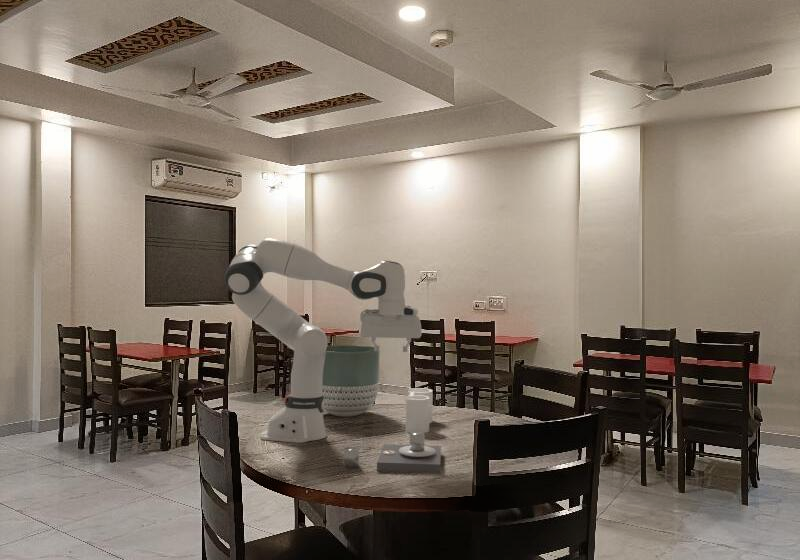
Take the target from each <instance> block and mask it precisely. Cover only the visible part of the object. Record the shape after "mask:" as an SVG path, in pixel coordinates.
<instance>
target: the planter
mask: <svg viewBox="0 0 800 560" xmlns="http://www.w3.org/2000/svg"><path fill="white" fill-rule="evenodd" d="M374 349H375V346H370V345H354V344H353V345H352V344H351V345H350V344H349V345H348V344H347V345H346V344H342V345H341V344H339V345H337V344H335V345H334V344H333V345H327V348H326V356H325V363H324V369H323V396H324V411H325V412H327V413H328V414H330V415H332V416H336V417H345V418H347V417H355V416H359V415H361V414H363V413H365V412H367V411H369V409H370V408H371V407H372V406H373V405H374V403H375V401H376V399H377V397H378V394H379V393H378V392H379V384H380V383H379V382H380V381H379V378H380V350H379V351H375V350H374Z"/></svg>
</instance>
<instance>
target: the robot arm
mask: <svg viewBox="0 0 800 560" xmlns="http://www.w3.org/2000/svg"><path fill="white" fill-rule="evenodd" d="M267 273H275V274H277V275H280V276H284V277H286V278H289V279H294V280H299V281H319V282H326V283H329V284H331V285H334V286H337V287H340V288H343V289H346V290H347V291H348V292H350V293H351V295H353V296H354V297H355V298H356V299H359V300H362V301H363V300H366V301H367V300H371V299H373V298H377V300H378V301H377V302H378V303H377V304H378V306H377V309H368V308H367V309H364V310H363V311H361V312H360V323H361V327H360V336H361V337H362V338H370V340H371V343H372V344H373V347H375V349H374V350H375V351H379V352H380V345H377V342H376V340H377V338H379V339H380V338H384V339H387V338H390V339H391V338H392V339H394V338H395V339H406V345H403V346H402V352H403V353H406V352H408V349H409V345H410V344H411V342H412V339H420V338H421V337H422V333H423V332H422V323H421V319H420V317H419V316H418V314H419V310H418V309H417V308H415V307H412V306H410V305H406V298H405V291H406V290H405V289H406V275H405V268H404V267H403V265H402V264H401V263H399V262H396V261H391V260H381V261H380V262H379V263H378V264H376V265H374V266H372V267H370V268H367V269H364V270H358V271H357V270H356V271H354V270H350V269H349V270H348V269H346V268H343V267H341V266H340V267H339V266H336V265H333V264H331V263H329V262H327V261H325V260H324V259H322V258H321V257H320V256H319V255H318V254H316V253H315V252H313V251H312V250H310V249H308V248H306V247H304V246H301V245H299V244H297V243H296V244H295V243H293V242H290V241H287V240H282V239H275V238H269V237H268V238H265V239H263V240H262V241H261V242H259V244H248V245H244V246H242V248H240V249H239V251H238V252H237V253H236V255H235V256H234V257H233V258H232V260H231V261H230V264H229V265H228V268H227V269H226V272H225V273H224V274H225V275H224V283H225V285H226V288H227V289H228V290H229V291H230V292H231V293H232V294H231V295H232V296H231V299H232V302H233V304H234V305H235V306H236V307H237V308H238V309H239V310H240V311H241V312H242V313H243V314H244V315H246V316H247V317H248V318H249V319H250V320H251V321H253V322H255V324H257V325H259V326H260V327H261V328H263V329H264V330H266V331H267V332H268V333H269V334H271V335H272V336H273V337H275V338H276V339H278V340H279V341H280V342H282V343H283V344H284V345H285V346H287V347H288V348H290V349H291V350H292V351H293V360H292V366H291V372H290V393H289V394H287V395H286V397H285V398H284V402H283V403H284V407H283V408H281V409H280V410H278V411H277V412H276V413H274V415H273V416H271V417H270V419H269V421H268V425H267V429H266V430H264V431H262V433H260V440H263V441H266V440H267V441H277V442H284V443H285V442H287V443H297V444H303V443H306V442H311V441H318V440H322V439H324V438H326V437H327V431H326V427H325V420H324V411H325V410H324V396H323V369H324V363H325V356H326V348H327V346H328V337H327V335H326V333H325V331H324V330H323V329H322V328H320V327H319V326H316V325H313V324H312V323H310V322H308V321H307V320H306V319H304V318H303V316H301V315H300V314H299V313H298V312H297V311H295V310H294V309H293V308H292V307H291V306H289V305H288V304H286V303H285V302H284V301H282V300H281V299H280V298H278V296H276V295H274V294H273V293H272V292H270V291H269V290H267V289H266V287H264V286H263V285H262V280H263V279H264V275H265V274H267Z"/></svg>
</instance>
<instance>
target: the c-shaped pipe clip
mask: <svg viewBox="0 0 800 560" xmlns="http://www.w3.org/2000/svg"><path fill="white" fill-rule="evenodd" d="M433 391H434V390H433V389H431V388H423V387H422V388H421V387H415V388H408V391H406V393H407V394H406V395H407V396H406V397H407V398H406V399H405V432H406V433H409V434H410V433H411V432H423V433H428V432H430V424H431V423H433V407H434V406H433V397H434V396H433V395H434V394H433Z"/></svg>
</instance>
